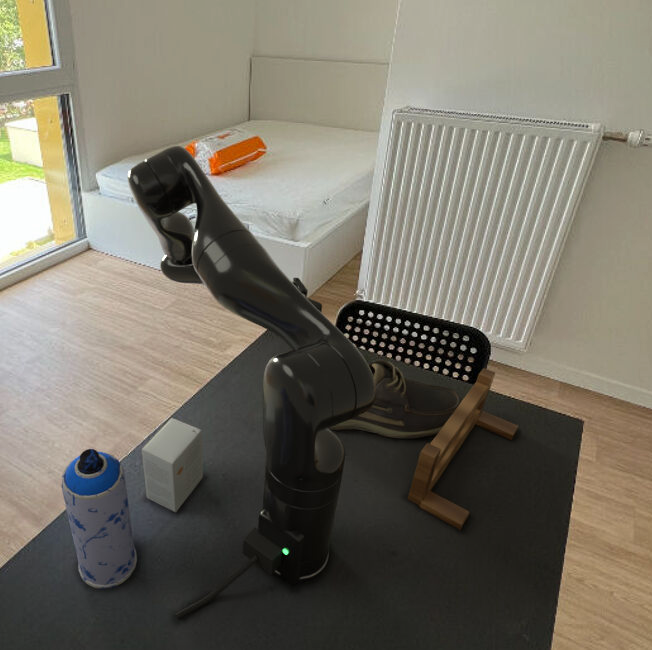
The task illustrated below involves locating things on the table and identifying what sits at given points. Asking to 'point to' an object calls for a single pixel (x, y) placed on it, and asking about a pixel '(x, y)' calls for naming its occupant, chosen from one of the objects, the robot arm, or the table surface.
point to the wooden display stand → (454, 450)
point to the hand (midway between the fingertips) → (319, 310)
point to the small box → (173, 464)
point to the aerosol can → (99, 518)
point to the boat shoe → (404, 406)
